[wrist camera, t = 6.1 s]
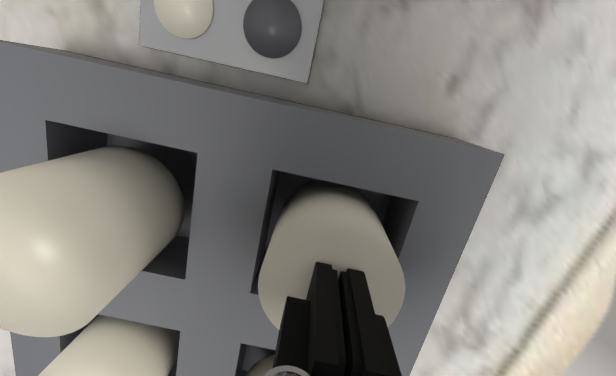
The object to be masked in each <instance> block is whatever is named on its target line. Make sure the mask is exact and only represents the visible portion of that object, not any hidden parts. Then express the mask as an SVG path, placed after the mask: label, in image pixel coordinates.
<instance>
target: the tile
mask: <svg viewBox="0 0 616 376" xmlns="http://www.w3.org/2000/svg"><path fill="white" fill-rule="evenodd" d="M323 4H324V0H141V5H140V38H139V45H140V46H144V47H148V48H153V49H157V50H162V51H166V52H171V53H175V54H179V55H184V56H188V57H193V58H197V59H202V60H206V61H210V62H215V63H219V64H224V65H228V66H232V67H237V68H241V69H246V70H250V71H255V72H259V73H263V74H268V75H272V76H277V77H281V78H286V79H290V80H294V81H299V82H303V83H308V79H309V74H310V69H311V64H312V59H313V54H314V49H315V44H316V39H317V34H318V29H319V24H320V19H321V14H322V9H323Z"/></svg>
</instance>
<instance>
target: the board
mask: <svg viewBox="0 0 616 376" xmlns="http://www.w3.org/2000/svg"><path fill="white" fill-rule="evenodd" d="M113 145H120V146H128V147H132V148H136V149H139V150H141V151H144V152H146V153H148V154H149V155H151V156H153V157H154V158H156V159H157V160H158V161H160V162H161V163H162V164H163V165H164V166H165V167H166V168H167V169H168V170H169V171H170V172H171V174H172V175H173V176H174V178H175V179H176V181H177V183H178V185H179V187H180V189H181V192H182V195H183V199H184V206H185V215H184V221H183V224H182V227H181V229H180V231H179V233H178V234H177V235H176V237H175V238H174V239H173V240H172V241H171V242H170V243H169V244H168V245H167V246H166V247H165V248H164V249H163V250H162V251H161V252H160V253H159V254H158V255H157V256H156V257H155V258H154V259H153V260H152V261H151V262H150V263H149V264H148V265H147V266H146V267H145V268H144V269H143V270H142V271H141V272H140V273H139V274H138V275H137V276H136V277H135V278H134V279H133V280H132V281H131V282H130V283H129V284H128V285H127V286H126V287H125V288H124V289H123V290H122V291H121V292H120V293H119V294H117V295H116V296H115V297H114V298H113V299H112V300H111V301H110V302H109V303H108V304H107V305H106V306H105V307H104V308H103V309H102V310H101V311H100V312H99V313H98V314H97V315H96V316H95V317H94V318H93V319H92V320H91V321H90V322H89V323H88V324H87V325H85V326H84V327H82V328H81V329H79V330H77V331H75V332H72V333H69V334H66V335H62V336H57V337H32V336H25V335H21V334H17V333H13V332H10V334H11V341H12V349H13V357H14V364H15V372H16V376H39V374H40V373H41V372H42V371H43V370H44V369H45V368H46V367H47V366H48V365H49V364H50V363H51V362H52V361H53V360H54V359H55V358H56V357H57V356H58V355H59V354H60V353H61V352H62V351H63V350H64V349H65V348H66V347H67V346H68V345H69V344H70V343H71V342H72V341H73V340H74V339H75V338H76V337H77V336H78V335H79V334H80V333H81V332H82V331H83V330H84V329H85V328H86V327H87V326H88V325H89V324H90V323H91V322H92V321H93V320H94V319H95V318H96V317H97V316H98V315H104V316H109V317H113V318H118V319H123V320H128V321H133V322H138V323H143V324H148V325H153V326H158V327H163V328H168V329H173V330H178V331H180V339H179V350H178V358H177V360H176V362H175V364H174V365H173V367H172V369H171V371H170V373H169V375H168V376H246V375H247V372H248V371H249V369H250V368H251V367H252V366H253V365H254V364H255V363H256V362H258V361H259V360H261V359H263V358H265V357H268V356H271V355H274V354H275V351H276V345H277V340H278V334H279V330H278V329H277V328H276V327H275V326H274V325H273V324H272V323H271V321H270V320H269V318H268V317H267V316H266V314H265V312H264V310H263V308H262V305H261V303H260V299H259V294H258V279H259V274H260V270H261V267H262V264H263V261H264V258H265V255H266V252H267V249H268V246H269V244H270V241H271V238H272V235H273V232H274V229H275V226H276V223H277V220H278V217H279V214H280V211H281V209H282V207H283V205H284V203H285V202H286V200H287V199H288V198H289V197H290V195H291V194H293V193H294V192H295V191H296V190H298V189H299V188H300V187H302V186H304V185H306V184H309V183H312V182H315V181H321V180H324V181H328V182H333V183H337V184H342V185H347V186H351V187H355V188H357V189H359V190H360V191H361V192H362V193H364V194H365V195H366V197H367V198H368V199H369V200H370V202H371V203H372V205H373V207H374V209H375V211H376V213H377V215H378V217H379V220H380V222H381V224H382V226H383V228H384V230H385V233H386V235H387V237H388V239H389V241H390V243H391V246H392V248H393V250H394V252H395V254H396V256H397V259H398V261H399V263H400V265H401V268H402V271H403V273H404V279H405V296H404V301H403V304H402V307H401V309H400V311H399V313H398V315H397V317H396V318H395V320H394V321H393V322H392V323H391V325H390V326H389V327H388V330H389V334H390V337H391V341H392V344H393V347H394V351H395V354H396V358H397V361H398V364H399V368H400V371H401V375H402V376H409V375H410V373H411V371H412V368H413V366H414V364H415V361H416V359H417V357H418V354H419V352H420V350H421V347H422V345H423V343H424V340H425V338H426V336H427V333H428V331H429V329H430V326H431V324H432V322H433V320H434V317H435V315H436V313H437V310H438V308H439V306H440V303H441V301H442V299H443V296H444V294H445V292H446V289H447V287H448V285H449V282H450V280H451V278H452V275H453V273H454V271H455V268H456V266H457V264H458V262H459V259H460V257H461V255H462V252H463V250H464V248H465V245H466V243H467V241H468V238H469V236H470V234H471V231H472V229H473V227H474V224H475V222H476V220H477V217H478V215H479V213H480V210H481V208H482V206H483V204H484V201H485V199H486V197H487V194H488V192H489V190H490V187H491V185H492V183H493V180H494V178H495V176H496V173H497V171H498V169H499V166H500V164H501V162H502V159H503V157H504V154H501V153H498V152H495V151H492V150H489V149H486V148H483V147H480V146H477V145H474V144H471V143H469V142H466V141H463V140H460V139H456V138H452V137H447V136H443V135H438V134H434V133H429V132H425V131H420V130H416V129H411V128H407V127H403V126H398V125H394V124H389V123H385V122H380V121H376V120H371V119H367V118H362V117H358V116H354V115H349V114H345V113H340V112H336V111H331V110H327V109H322V108H318V107H313V106H309V105H304V104H300V103H296V102H291V101H287V100H282V99H278V98H273V97H269V96H264V95H260V94H255V93H251V92H246V91H242V90H238V89H233V88H229V87H224V86H220V85H215V84H211V83H206V82H202V81H197V80H193V79H189V78H184V77H180V76H175V75H171V74H166V73H162V72H157V71H153V70H148V69H144V68H139V67H135V66H131V65H126V64H122V63H117V62H113V61H108V60H104V59H99V58H95V57H90V56H86V55H82V54H77V53H73V52H68V51H64V50H58V49H52V48H45V47H39V46H33V45H27V44H21V43H15V42H9V41H3V40H0V173H1V172H5V171H9V170H13V169H17V168H21V167H25V166H29V165H33V164H37V163H41V162H45V161H49V160H53V159H57V158H61V157H65V156H69V155H73V154H77V153H81V152H85V151H89V150H93V149H97V148H101V147H105V146H113Z"/></svg>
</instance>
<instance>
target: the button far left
mask: <svg viewBox="0 0 616 376" xmlns="http://www.w3.org/2000/svg"><path fill="white" fill-rule="evenodd" d="M179 339H180V331H178V330H173V329H168V328H163V327H158V326H153V325H148V324H143V323H138V322H133V321H128V320H123V319H118V318H113V317H109V316H104V315H98V316H97V317H96V318H95V319H94V320H93V321H92V322H91V323H90V324H89V325H88V326H87V327H86V328H85V329H84V330H83V331H82V332H81V333H80V334H79V335H78V336H77V337H76V338H75V339H74V340H73V341H72V342H71V343H70V344H69V345H68V346H67V347H66V348H65V349H64V350H63V351H62V352H61V353H60V354H59V355H58V356H57V357H56V358H55V359H54V360H53V361H52V362H51V363H50V364H49V365H48V366H47V367H46V368H45V369H44V370H43V371H42V372H41V373H40V374H39V376H168V375H169V373H170V371H171V369H172V367H173V365H174V364H175V362H176V360H177V358H178V350H179Z"/></svg>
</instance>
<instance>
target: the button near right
mask: <svg viewBox="0 0 616 376" xmlns="http://www.w3.org/2000/svg"><path fill="white" fill-rule="evenodd" d="M316 262H321V263H326V264H331V265H332V269H334V270H337V273H338V279H339V275H340V273H341V271H343V272H346V271H347V269H348V268H350V269H354V270H359V271H363V272H364V273H365V276H366V280H367V284H368V288H369V292H370V296H371V300H372V304H373V307H374V311H375V314H377V315H381V316H383V317H384V318H385V320H386V323H387V327H389V326H390V325H391V323H392V322H393V321H394V320H395V318H396V317H397V315H398V313H399V311H400V309H401V307H402V304H403V301H404V296H405V279H404V273H403V271H402V268H401V265H400V263H399V261H398V259H397V256H396V254H395V252H394V250H393V248H392V246H391V243H390V241H389V239H388V237H387V235H386V233H385V230H384V228H383V226H382V224H381V222H380V220H379V217H378V215H377V213H376V211H375V209H374V207H373V205H372V203H371V202H370V200H369V199H368V198H367V197H366V195H365V194H364V193H362V192H361V191H360V190H359V189H357V188H355V187H351V186H347V185H342V184H337V183H333V182H328V181H324V180H321V181H315V182H312V183H309V184H306V185H304V186H302V187H300V188H299V189H298V190H296V191H295V192H294V193H293V194H291V195H290V197H289V198H288V199H287V200H286V202H285V203H284V205H283V207H282V209H281V211H280V214H279V217H278V220H277V223H276V226H275V229H274V232H273V235H272V238H271V241H270V244H269V246H268V249H267V252H266V255H265V258H264V261H263V264H262V267H261V270H260V274H259V279H258V294H259V299H260V303H261V305H262V308H263V310H264V312H265V314H266V316H267V317H268V318H269V320H270V321H271V323H272V324H273V325H274V326H275V327H276V328H277V329H278V330H279V329H280V325H281V320H282V315H283V311H284V307H285V302H286V298H287V296H290V297H295V298H300V299H304V300H306V297H307V294H308V290H309V286H310V282H311V278H312V274H313V270H314V266H315V263H316Z"/></svg>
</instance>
